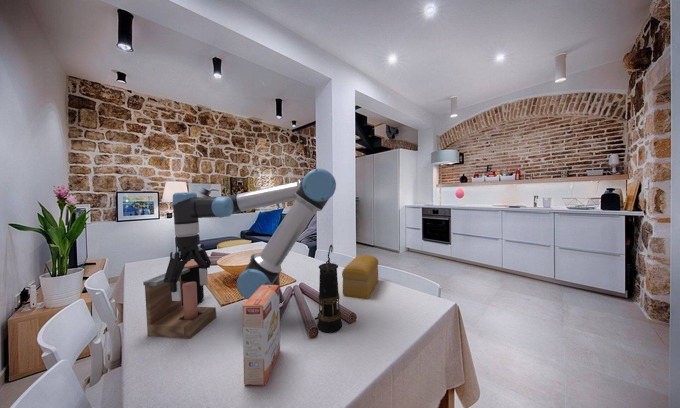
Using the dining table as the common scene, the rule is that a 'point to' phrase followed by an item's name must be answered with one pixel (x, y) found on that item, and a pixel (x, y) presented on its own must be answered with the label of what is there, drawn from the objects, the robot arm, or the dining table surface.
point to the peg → (190, 300)
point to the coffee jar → (193, 279)
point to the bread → (360, 277)
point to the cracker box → (261, 334)
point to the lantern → (329, 298)
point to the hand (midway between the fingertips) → (191, 292)
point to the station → (171, 311)
